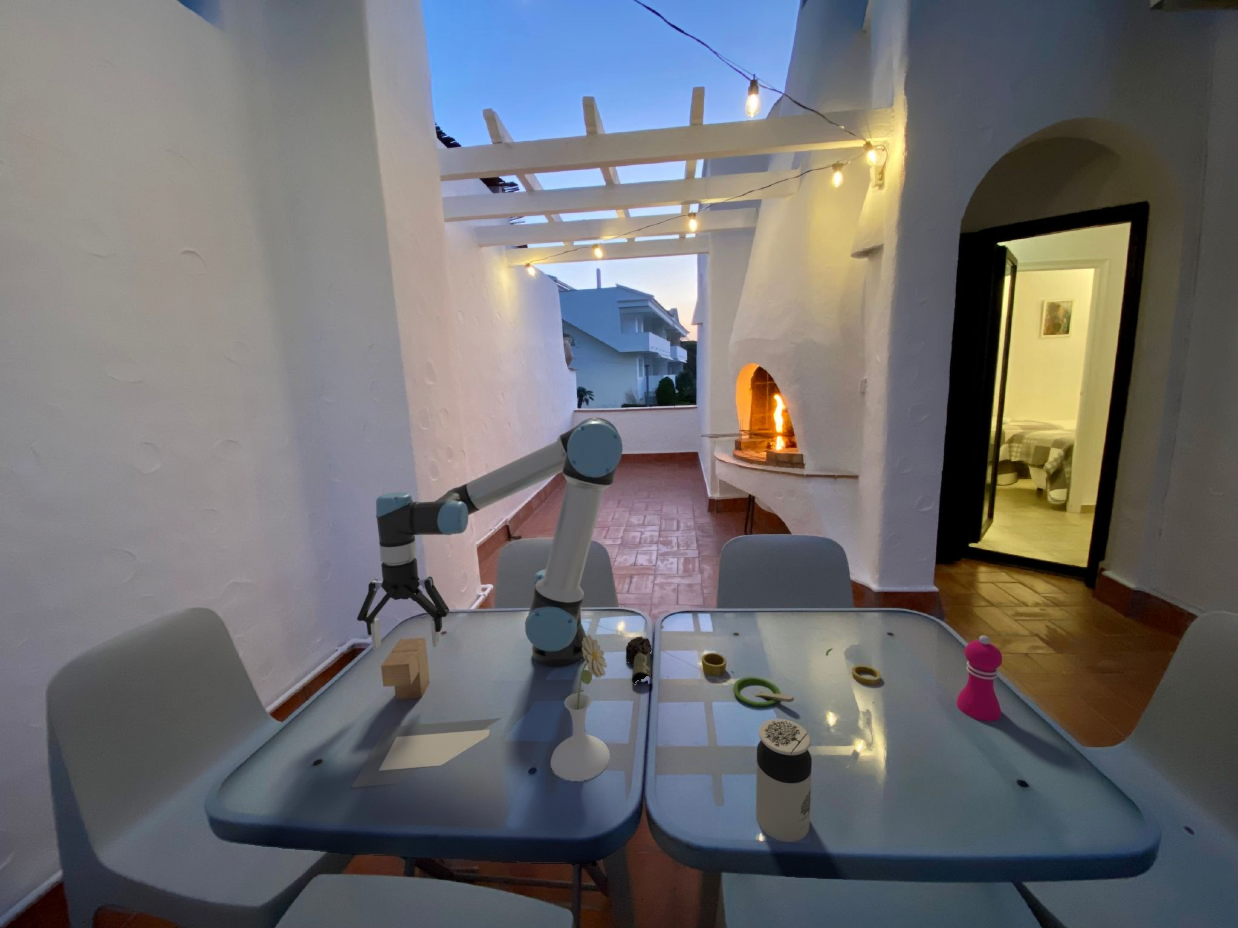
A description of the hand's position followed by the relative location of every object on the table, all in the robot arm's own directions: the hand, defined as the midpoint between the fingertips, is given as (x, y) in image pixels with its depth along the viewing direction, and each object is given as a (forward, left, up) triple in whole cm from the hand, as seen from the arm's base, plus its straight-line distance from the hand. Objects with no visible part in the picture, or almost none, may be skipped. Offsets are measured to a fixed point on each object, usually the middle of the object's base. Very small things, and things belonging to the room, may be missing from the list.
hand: (406, 645), depth 117 cm
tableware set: (-90, +9, -13) cm, 92 cm away
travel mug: (-72, +47, -12) cm, 87 cm away
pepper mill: (-121, +27, -12) cm, 125 cm away
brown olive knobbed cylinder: (-55, +4, -15) cm, 57 cm away
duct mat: (-12, +22, -12) cm, 28 cm away
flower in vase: (-41, +28, -12) cm, 51 cm away
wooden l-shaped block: (0, 0, -12) cm, 12 cm away
